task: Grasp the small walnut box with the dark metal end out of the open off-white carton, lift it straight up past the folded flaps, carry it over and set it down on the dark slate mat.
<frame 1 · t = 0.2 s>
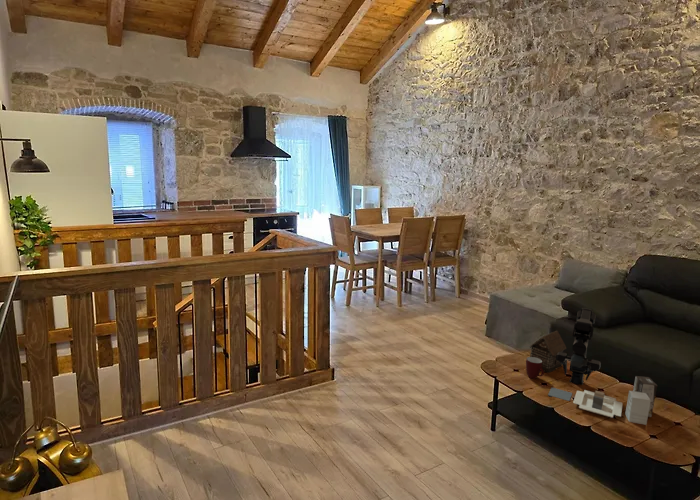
hand: (575, 377, 225), 14 cm above the table, tool pointing down, fingers open, 9 cm apart
coffee box: (640, 411, 224), on the table
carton: (597, 407, 226), on the table
supplement box: (635, 420, 216), on the table
slate mat: (560, 394, 236), on the table
mug: (534, 378, 254), on the table
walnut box: (597, 406, 226), resting on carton
model building: (545, 366, 271), on the table
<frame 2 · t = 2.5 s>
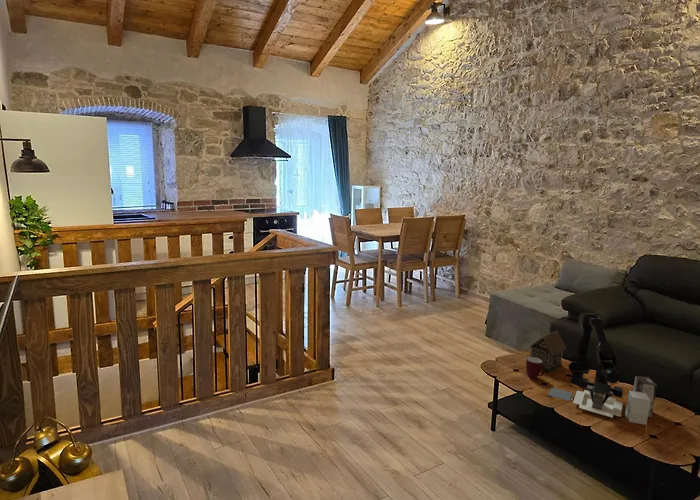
hand: (597, 403, 225), 2 cm above the table, tool pointing down, fingers closed on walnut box, 4 cm apart
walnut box: (597, 406, 226), resting on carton, touching gripper
everything else where it was.
when the fingers open (4 cm above the table, at t = 7.2 s): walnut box stays where it is, resting on slate mat.
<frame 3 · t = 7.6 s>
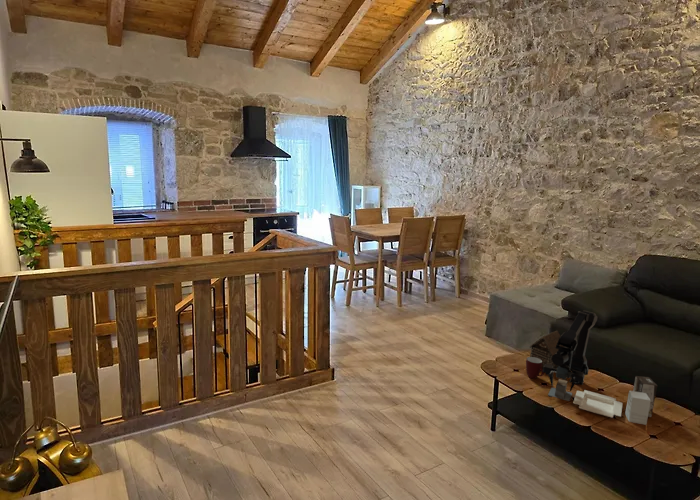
hand: (561, 388, 236), 4 cm above the table, tool pointing down, fingers open, 8 cm apart
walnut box: (560, 393, 236), point 1 cm above the table, touching slate mat
everything else where it was.
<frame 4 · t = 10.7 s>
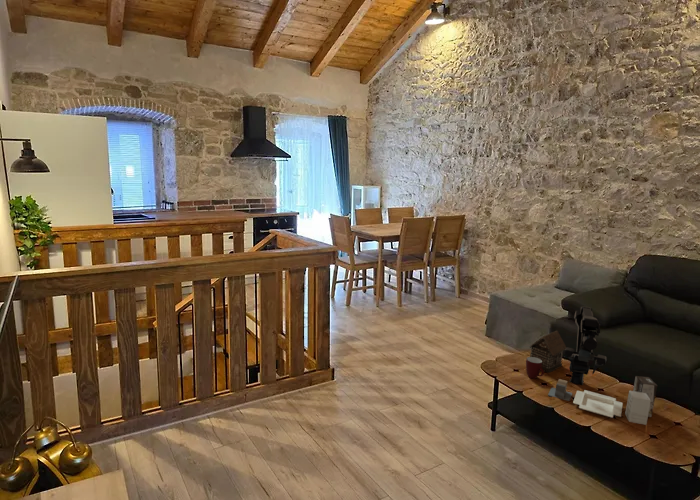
hand: (582, 371, 236), 13 cm above the table, tool pointing down, fingers open, 9 cm apart
nothing on the table moved.
at the end: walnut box inside the target area (0.1 cm from its centre), point 0.6 cm above the table; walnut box tilted 0°; the gripper is holding nothing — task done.
